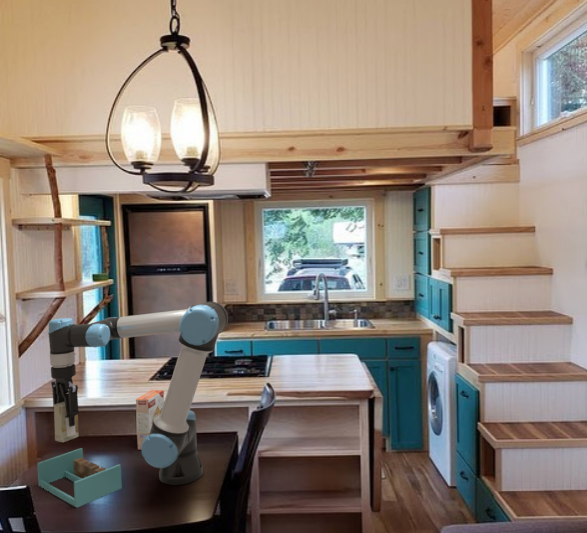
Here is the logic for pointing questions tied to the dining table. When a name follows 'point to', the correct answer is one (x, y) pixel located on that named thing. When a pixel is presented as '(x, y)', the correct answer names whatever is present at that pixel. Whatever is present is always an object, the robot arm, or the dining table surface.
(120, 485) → the teal rack
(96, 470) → the offcut
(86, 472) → the block
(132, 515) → the dining table surface
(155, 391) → the cracker box
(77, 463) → the offcut
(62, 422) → the skincare box
